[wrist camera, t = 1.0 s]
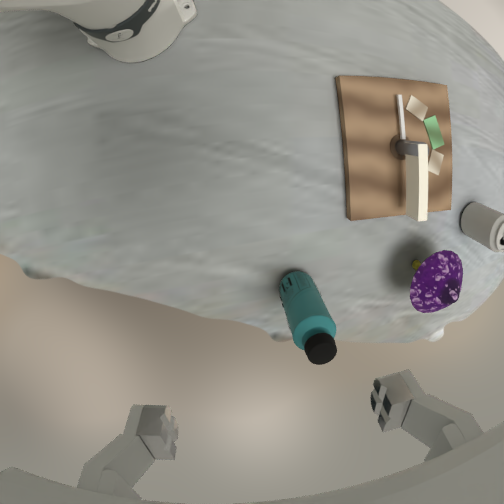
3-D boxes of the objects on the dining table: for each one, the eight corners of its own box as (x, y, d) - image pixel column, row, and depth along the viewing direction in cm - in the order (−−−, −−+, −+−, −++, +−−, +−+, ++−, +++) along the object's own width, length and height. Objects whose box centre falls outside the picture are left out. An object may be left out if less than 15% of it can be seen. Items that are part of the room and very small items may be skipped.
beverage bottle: (284, 261, 53) (310, 330, 35) (318, 272, 54) (356, 339, 36) (271, 293, 55) (288, 369, 37) (304, 302, 56) (333, 376, 38)
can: (456, 236, 53) (492, 257, 42) (460, 201, 51) (498, 218, 40) (478, 233, 54) (513, 253, 42) (482, 200, 51) (520, 216, 40)
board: (335, 77, 42) (339, 75, 40) (440, 86, 42) (447, 85, 40) (346, 217, 51) (351, 221, 49) (445, 207, 51) (451, 210, 49)
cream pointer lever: (390, 94, 41) (411, 91, 35) (403, 95, 41) (425, 92, 35) (396, 210, 48) (416, 221, 42) (408, 209, 48) (428, 220, 42)
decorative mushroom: (447, 252, 55) (490, 284, 41) (413, 299, 58) (449, 339, 44) (413, 221, 52) (461, 250, 38) (376, 274, 55) (413, 315, 41)
